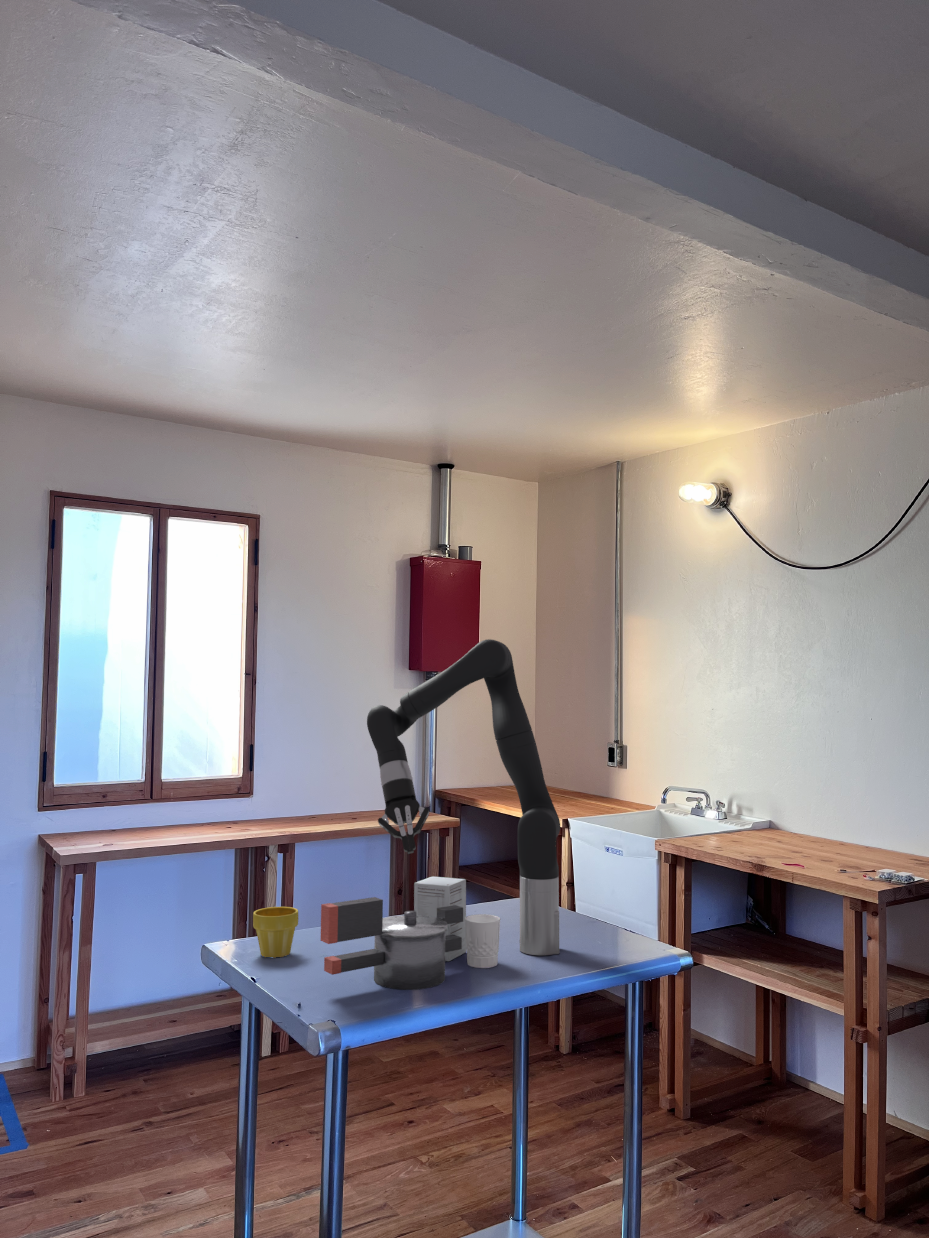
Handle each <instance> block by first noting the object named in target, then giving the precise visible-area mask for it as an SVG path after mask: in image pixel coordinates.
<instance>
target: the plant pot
mask: <svg viewBox="0 0 929 1238" xmlns="http://www.w3.org/2000/svg"><path fill="white" fill-rule="evenodd" d="M298 925H299V910H298V908H295V907H291V906H271V907H270V906H269V907H265V908H260V909H257V910H254V911H253V914H252V926H253V929H255V931H256V936H257V941H258V946H259V951H260V953H259V954H260V956H261V955H262V956H261V957H263V956H264V957H263V958H266V957H273V958H272V959H277V958H276V957H280V958H284V956H285V957H287V955H288V956H289V955H290V954H291V951H292V947H293V941H294V936H295V932H296V927H298Z"/></svg>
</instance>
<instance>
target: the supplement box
mask: <svg viewBox="0 0 929 1238" xmlns="http://www.w3.org/2000/svg"><path fill="white" fill-rule="evenodd" d="M413 890H414V891H413V893H414V894H413V897H414V898H413V899H414V900H413V906H414V909H413V911H416V912H417V915H422V916H431V917H436V918H437V908H440V907H447V906H453V905H456V906H460V907H463V922H458V923H453V924H447V931H446V932H445V936H447V935H456V936H459V937H462V949H460V950H455V951H450V952H445V962H451V961H452V960H454V959H456V958H458V957H460V956H461V955H463V954H465V953H467V950H466V933H465V917H467V879H465V878H455V877H443V876H430V877H427V878H425V879H421V880H417V882H416V881H415V882H414V884H413Z"/></svg>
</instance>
